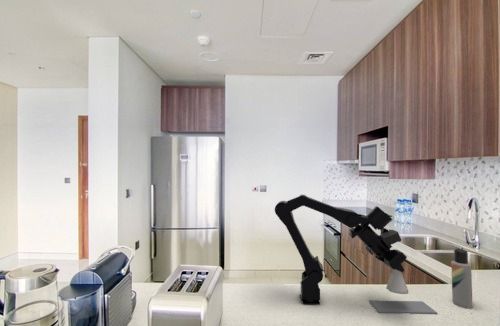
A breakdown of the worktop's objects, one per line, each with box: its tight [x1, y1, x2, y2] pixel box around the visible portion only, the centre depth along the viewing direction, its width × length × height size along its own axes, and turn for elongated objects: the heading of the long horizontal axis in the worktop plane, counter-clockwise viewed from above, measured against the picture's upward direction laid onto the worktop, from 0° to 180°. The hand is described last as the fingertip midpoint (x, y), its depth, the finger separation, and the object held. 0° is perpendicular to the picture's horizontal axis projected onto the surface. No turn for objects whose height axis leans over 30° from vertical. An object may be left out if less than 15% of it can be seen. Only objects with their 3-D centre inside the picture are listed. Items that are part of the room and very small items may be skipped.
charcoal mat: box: [368, 299, 438, 315], centre depth 91 cm, size 20×8×1 cm, turn 89°
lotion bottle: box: [450, 248, 473, 309], centre depth 94 cm, size 6×6×20 cm
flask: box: [385, 268, 409, 295], centre depth 91 cm, size 7×7×10 cm
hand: (400, 269), depth 92 cm, fingers closed on flask, 3 cm apart
